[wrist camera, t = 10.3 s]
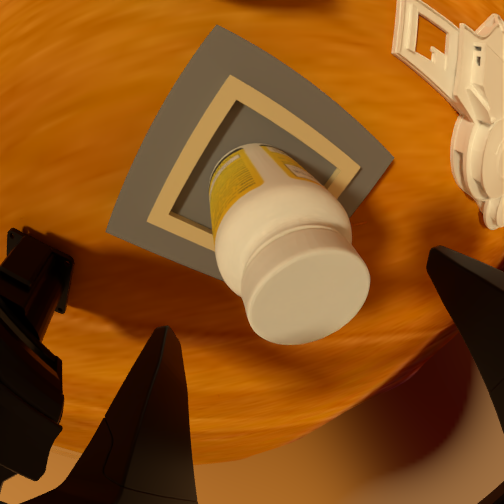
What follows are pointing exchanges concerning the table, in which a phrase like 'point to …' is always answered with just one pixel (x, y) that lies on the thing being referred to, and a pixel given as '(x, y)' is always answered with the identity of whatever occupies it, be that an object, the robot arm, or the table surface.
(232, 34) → the grey square frame tile
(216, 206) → the supplement bottle
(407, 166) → the table surface
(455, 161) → the molded plastic bracket
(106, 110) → the table surface
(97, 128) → the table surface
